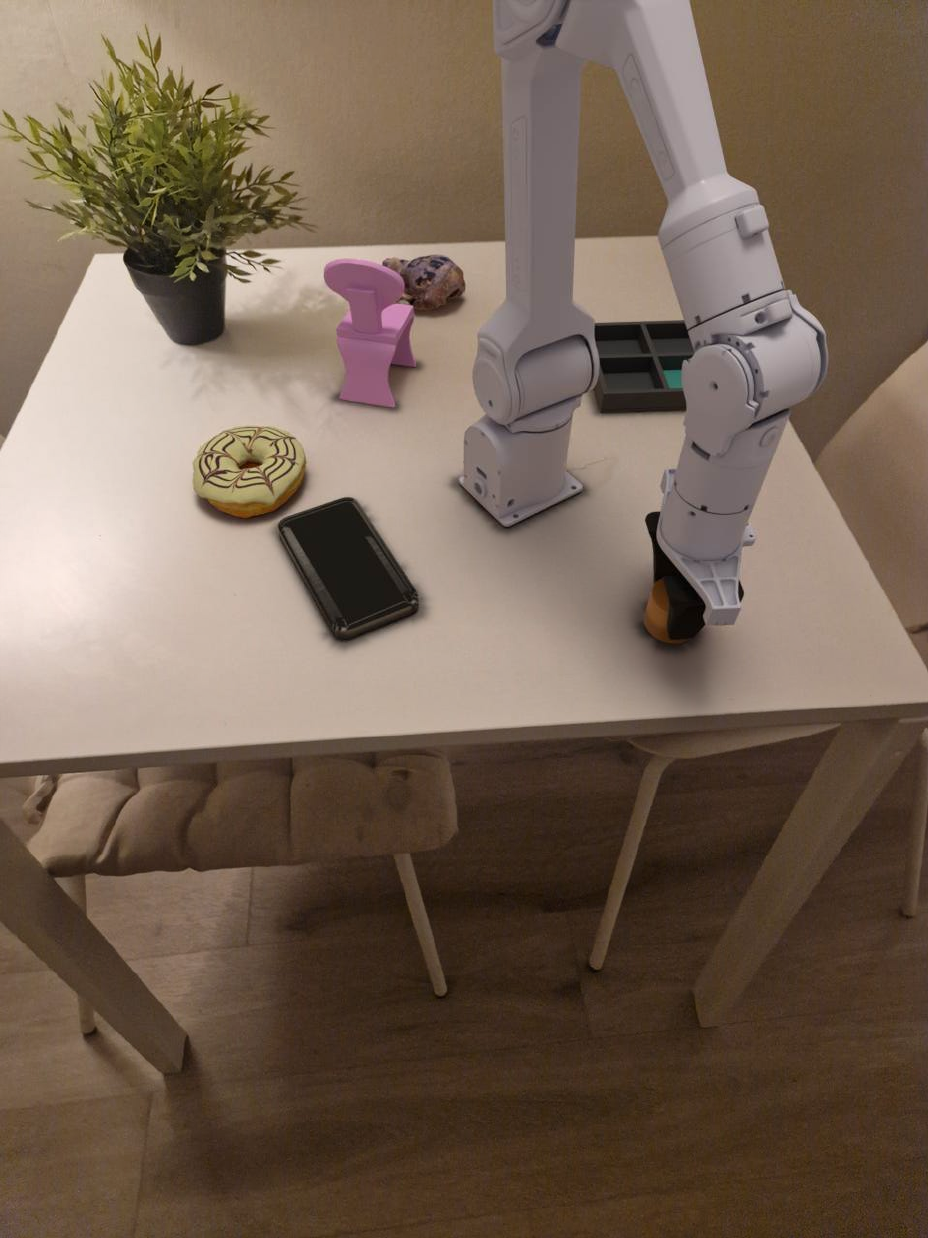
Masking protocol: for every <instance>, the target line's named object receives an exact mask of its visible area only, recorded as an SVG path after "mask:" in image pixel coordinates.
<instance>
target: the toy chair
mask: <svg viewBox="0 0 928 1238" xmlns="http://www.w3.org/2000/svg"><path fill="white" fill-rule="evenodd" d="M323 280H324V283H325V285H326V286H327V287H328V288H329V289H330V290H331V291H333V292H334V293H336V294H337V295H339V296H340V297H341V298H343V299H344V300H345V301H346V302H348V305H349V310H348V311H347V313H346V314H345V316H344V317H343V318H342V320H341V321H340V322H339V323H338V325H337V327H336V345H337V348H338V351H339V354H340V356H341V359H342V361H343V364H344V370H345V376H344V382H343V386H342V390H341V392H340V394H339V400H343V401H348V402H354V403H361V404H367V405H373V406H377V407H378V406H379V407H385V408H391V409H392V408H393V409H394V408H395V407H396V403H395V400H394V398H393V396H392V392H391V388H390V385H389V384H390V383H389V370H390V366H391V364H392V365H398V366H405V367H411V368H416V367H417V362H416V359H415V355H414V353H413V349H412V345H411V338H410V337H411V336H410V335H411V329H412V326H413V324H414V321H415V313H414V311H415V310H414V309H415V308H413V306H411V305H410V304H402V303H397V302H398V301H400V300H401V299H402V298H401V297H402V295H403V292H404V288H405V284H404V281H403V279H402V277H401V276H400V275H399V274H398V273H396V272H395V271H393V270H391V269H389V268H387V267H385V266H383V265H382V264H380V263H377V262H374V261H370V260H365V259H357V258H349V257H347V258H338V259H334V260H331V261H328V263H326V264H325V266H324V268H323Z"/></svg>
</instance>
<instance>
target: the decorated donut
mask: <svg viewBox="0 0 928 1238" xmlns="http://www.w3.org/2000/svg"><path fill="white" fill-rule="evenodd" d="M306 468H307V457H306V454H305V448H304V447H303V445H302V443H301V442H299V440H298V439H297V437H295V436H294V435H292V433H290V432H288V431H287V430H284V429H281V428H278V427H276V426H269V425H241V426H235V427H232V428H229V429H226V430H222V431H221V432H220V433H218V434H216V435H214V436H213V437H212V438H211V439H209V440H207V441H205V443H203V444H202V445H201V446H200V447H199V449H198V451H197V455H196V457H195V458H194V459H193V461H192V470H193V473H192V485H193V489H194V491H195V493H196V494H197V495H198V496H199V497H200V498H202V499H206V501H207V502H208V503H209V504H210V505H212V506H214V507H215V508H216V509H217V510H219V511H221V512H223V513H225V514H228V515H231V516H234V517H237V518H244V519H248V518H251V517H252V516H260V515H263V514H266V513H271V512H274V511H276V510H277V509H278V508H280V507H281V506H282V505H283V504H285V503H287V502H288V500H289V499H290V498H291V497H292V496H293V495H294V494H295V493H296V491H297V490H298V489H299V487H300V486H302V483H303V480H304V476H305V472H306Z"/></svg>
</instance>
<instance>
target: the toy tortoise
mask: <svg viewBox="0 0 928 1238" xmlns="http://www.w3.org/2000/svg"><path fill="white" fill-rule="evenodd" d="M381 265H383V266H385V267H387V268H389V269H391V270H393V271H395V272H396V273H398V274H399V275H400V276H401V277H402V279H403V281H404V284H405V288H404V292H403V295H402V297H401V298H400V299H403V300H405V301H406V302H408V305H411V306H413V309H415V310H418V311H422V310H425V311H433V310H437V309H438V308H439V307H440V306H441V305H443V306H445V305H447V300H452V299H455V298H458V297H461V296H463V294H464V293H465V291H466V287H467V286H466V281H465V278H464V271H463V269H461V267H460V266H459V265H457V263H455V262H454V261H453V259H451V257H449V256H447V255H444V254H430V255H429V254H428V255H423V256H419V257H416V258H413V259H410V260H408V259H404V258H403V259H402V258H399V257H395V256H393V257H391V258H389V257H387V258H385V259H384V260H383V261H382V262H381Z"/></svg>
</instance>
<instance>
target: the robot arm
mask: <svg viewBox="0 0 928 1238" xmlns="http://www.w3.org/2000/svg"><path fill="white" fill-rule="evenodd" d="M691 6H692V5H691V0H492V26H493V28H492V29H493V51H494V53H495V55H496V56H497V57H500V64H501V65H500V66H501V106H502V107H501V108H502V109H501V110H502V111H501V112H502V113H501V115H502V155H503V157H502V158H503V161H502V163H503V164H502V165H503V206H504V207H503V209H504V253H505V254H504V256H505V258H504V259H505V262H504V263H505V299H504V300H503V302H502V303H501V304H500V305H499V307H498V308H497V309H496V310H495V311H494V312H493V313H492V314H491V315H490V317H488V319H487V320H486V321H485V322H484V323H483V324H482V325H481V326H480V328H479V329H478V331H477V333H476V335H477V348H476V349H477V351H476V356H475V359H474V362H473V367H472V376H471V377H472V385H473V390H474V394H475V397H476V399H477V401H478V404H479V405H480V407H481V409H482V411H483V412H484V413H485V414H484V415H483V416H482V417H481V418H480V419H478V420H477V421H476V422H474V423H472V424H471V425H470V426H468V427H467V428H466V430H465V431H464V435H463V475H462V476H460V477H459V478H458V483H459V485H460V486H462V488H464V490H466V491H467V492H468V493H469V494H470V495H471V496H472V497H473V498H474V499H475V500H476V501H477V503H479V504H480V505H481V506H483V508H484V509H485V510H486V511H487V512H488V513H489V514H491V515H492V516H493V518H494V519H496V520H497V521H498V523H500V524H501V525H502V526H503V527H506V528H507V527H511V526H513V525H515V524H517V523H519V522H521V521H523V520H525V519H527V518H529V517H531V516H533V515H535V514H537V513H540V512H541V511H544V510H546V509H547V508H550V507H551V506H554V505H555V504H556V505H557V504H558V503H560V502H562V501H564V500H566V499H568V498H570V497H572V496H574V495H577V494H578V493H580V492H582V491H583V489H584V488H583V487H584V486H583V485H584V484H582V483H581V482H580V481H579V480H578V479H577V478H576V477H574V476H573V475H572V474H570V473H569V472H568V471H567V462H568V456H569V455H568V454H569V447H570V440H571V432H572V426H573V425H572V424H573V418H574V417H573V416H574V412H575V410H577V409H579V408H581V406H582V397H583V395H585V394H588V393H590V392H591V391H592V390H594V387H595V385H596V383H597V380H598V376H599V368H600V362H599V354H598V350H597V347H596V343H595V337H594V328H595V323H596V320H595V318H594V317H593V315H592V314H591V313H590V312H589V311H588V310H587V309H586V308H585V307H583V306H582V305H581V304H580V303H579V302H578V303H577V302H576V301H574V275H575V249H576V224H577V223H576V221H577V196H578V193H577V191H578V175H579V173H578V171H579V149H580V148H579V144H580V123H581V122H580V119H581V118H580V117H581V96H582V95H581V92H582V72H583V69H584V68H585V66H587V64H588V63H589V62H590V61H591V62H592V63H596V64H598V65H601V66H605V67H606V68H607V67H608V68H610V69H613V70H614V72H615V73H616V76H617V78H618V81H619V83H620V85H621V87H622V90H623V93H624V96H625V99H626V100H627V103H628V105H629V108H630V110H631V113H632V116H633V118H634V121H635V123H636V125H637V127H638V130H639V132H640V135H641V138H642V140H643V142H644V146H645V147H646V150H647V153H648V155H649V158H650V160H651V162H652V165H653V167H654V170H655V172H656V175H657V177H658V179H659V182H660V185H661V187H662V190H663V192H664V195H665V197H666V199H667V207H666V211H665V213H664V216H663V219H662V222H661V225H660V227H659V229H658V233H657V241H658V244H659V246H660V250H661V253H662V255H663V258H664V262H665V265H666V268H667V271H668V274H669V278H670V281H671V284H672V287H673V290H674V293H675V296H676V299H677V302H678V305H679V309H680V312H681V315H682V318H683V320H684V321H685V324H686V327H687V330H689V329H691V330H689V331H688V334H689V337H690V340H691V343H692V346H693V349H694V352H695V353H694V355H693V357H692V358H690V359H688V361H687V360H684V361H683V365H682V387H683V392H684V395H685V399H686V406H687V410H685V415H684V419H683V423H682V425H683V426H684V428H685V429H684V433H685V436H684V440H683V444H682V447H681V451H680V454H679V458H678V462H677V465H676V467H665V468H664V470H663V474H662V478H661V482H660V485H659V487H660V490H661V492H662V493H661V494H663V497H662V501H661V507H660V510H659V511H651V512H649V513H647V514H646V516H645V519H644V521H645V522H644V523H645V525H646V529H647V531H648V535H649V537H650V540H651V546H652V548H651V549H652V563H653V567H652V572H653V574H652V576H653V577H652V578H653V580H652V581H653V585H654V584H655V583H656V582H657V581H658V580H660V579H661V578H663V583H664V586H665V589H666V593H667V596H668V599H669V612H668V619H667V633H668V636H669V639H670V640H678V639H689V640H693V639H694V638H696V636H697V635H698V634H699V633H700V632H701V630H702V629H703V628H704V627H722V626H733V625H735V623H736V621H737V618H738V617H739V614H740V612H741V609H742V604H741V603H742V601H743V599H744V596H745V591H744V590H745V589H744V587H743V585H742V582H741V579H740V573H741V572H740V571H741V561H742V554H743V553H742V551H743V547H752V546H753V545H754V544H755V542H756V539H757V534H756V532H755V529H754V527H753V525H752V524H751V522H749V520H750V519H751V516H752V513H753V510H754V507H755V505H756V502H757V500H758V497H759V494H760V493H761V489H762V488H763V487H762V486H763V485H764V482H765V479H766V477H767V474H768V472H769V469H770V466H771V464H772V461H773V460H774V456H775V453H776V452H777V449H778V447H779V444H780V441H781V439H782V436H783V434H784V431H785V429H786V426H787V424H788V421H789V419H790V416H791V413H792V411H791V409H790V408H791V407H793V406H795V405H798V404H799V403H801V402H803V401H804V400H806V399H807V398H809V397H811V396H812V395H814V394H815V393H816V392H817V391H818V390H819V389H820V387H821V386H822V384H823V383H824V381H825V378H826V376H827V372H828V369H829V368H828V367H829V349H828V345H827V333H826V331H825V329H824V327H823V326H822V324H821V322H820V321H819V320H818V319H817V317H815V315H813V313H811V311H808V310H807V309H806V308H804V307H803V306H802V305H801V303H800V302H799V299H798V297H797V294H796V293H793V292H792V290H791V289H786V287H785V286H786V285H785V283H784V279H783V276H782V273H781V269H780V265H779V261H778V259H777V256H776V252H775V249H774V246H773V242H772V238H771V236H770V232H769V227H770V223H769V219H768V216H767V212H766V209H765V207H764V205H761V203H760V199H759V195H758V192H757V190H756V189H755V188H754V187H753V186H751V185H749V184H747V183H745V182H743V181H741V180H739V179H737V178H735V177H733V176H732V175H730V174H729V173H728V170H727V166H726V160H725V156H724V152H723V147H722V142H721V138H720V133H719V129H718V125H717V120H716V115H715V111H714V107H713V102H712V97H711V93H710V88H709V83H708V78H707V75H706V69H705V65H704V62H703V61H704V60H703V56H702V53H701V47H700V43H699V38H698V34H697V29H696V24H695V19H694V15H693V11H692V7H691ZM785 289H786V290H785Z"/></svg>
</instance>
